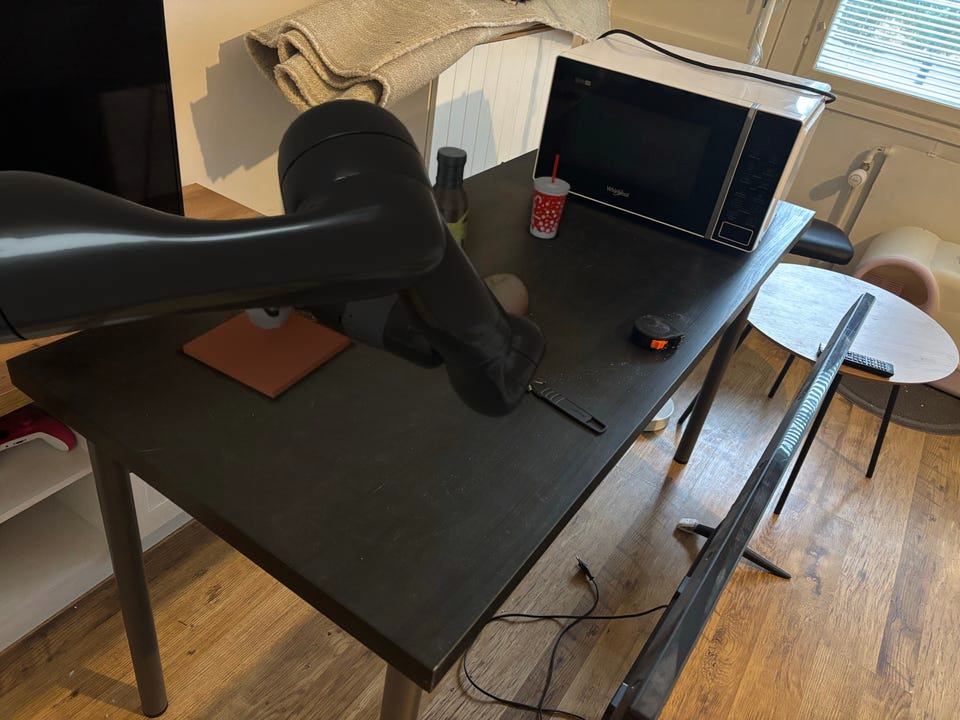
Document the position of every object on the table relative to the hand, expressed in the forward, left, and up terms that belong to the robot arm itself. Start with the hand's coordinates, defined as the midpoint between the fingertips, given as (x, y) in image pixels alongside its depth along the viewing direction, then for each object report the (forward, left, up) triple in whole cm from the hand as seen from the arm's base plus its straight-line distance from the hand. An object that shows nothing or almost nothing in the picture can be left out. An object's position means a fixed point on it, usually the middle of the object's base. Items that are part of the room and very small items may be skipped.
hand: (247, 256), depth 86 cm
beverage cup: (+49, +30, -12) cm, 59 cm away
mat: (+2, -2, -12) cm, 12 cm away
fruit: (+32, +1, -12) cm, 34 cm away
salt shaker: (+2, -2, -8) cm, 8 cm away
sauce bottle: (+27, +14, -12) cm, 33 cm away
